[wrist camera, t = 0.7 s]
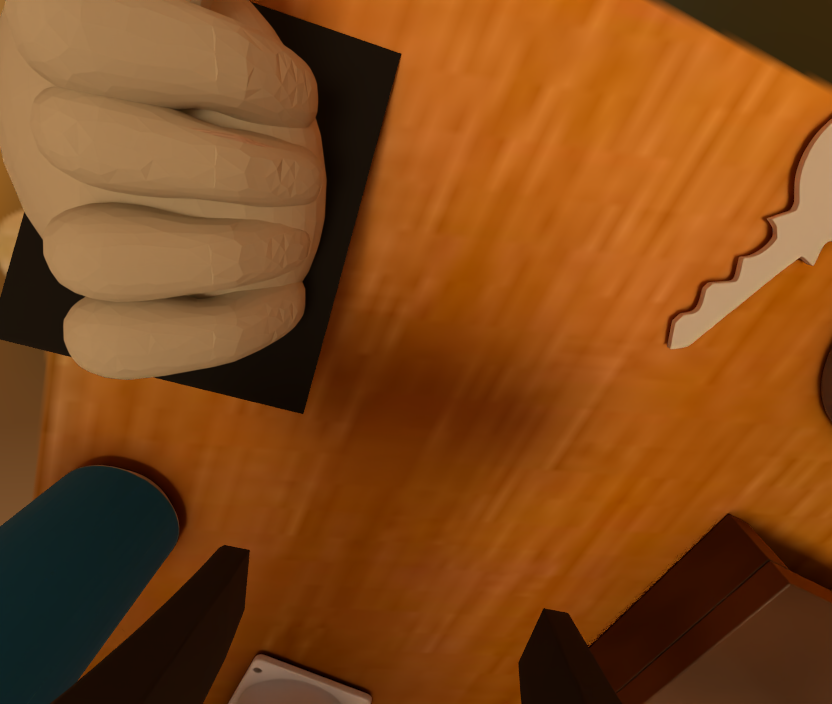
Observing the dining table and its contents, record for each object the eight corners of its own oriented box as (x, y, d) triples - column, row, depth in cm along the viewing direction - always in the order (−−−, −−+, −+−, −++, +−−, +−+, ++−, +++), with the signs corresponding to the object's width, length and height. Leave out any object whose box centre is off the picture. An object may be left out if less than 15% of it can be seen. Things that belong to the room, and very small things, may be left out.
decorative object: (-226, -525, 6) (432, -246, 7) (145, 17, 16) (395, 100, 18) (-482, 325, 6) (233, 486, 7) (55, 338, 16) (314, 403, 17)
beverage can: (74, 437, 21) (-324, 715, 10) (199, 484, 22) (-44, 793, 11) (59, 527, 24) (-279, 835, 12) (173, 567, 24) (-50, 892, 13)
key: (903, 60, 14) (976, 172, 15) (894, 62, 14) (967, 172, 15) (626, 303, 17) (702, 381, 18) (623, 302, 17) (698, 378, 18)
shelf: (720, 736, 28) (765, 822, 24) (564, 671, 26) (585, 752, 22) (907, 602, 23) (999, 685, 19) (728, 513, 21) (790, 583, 17)
